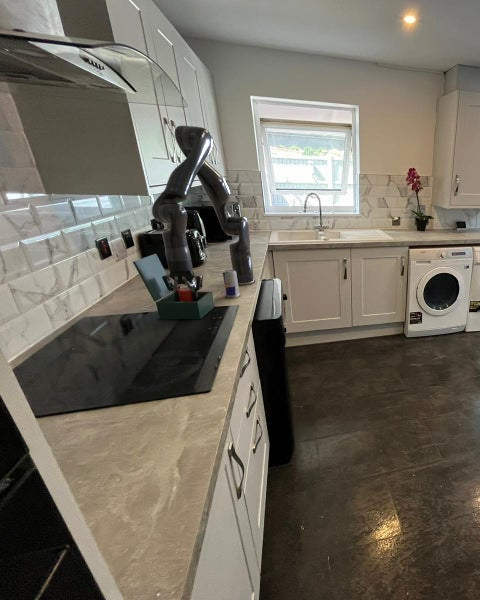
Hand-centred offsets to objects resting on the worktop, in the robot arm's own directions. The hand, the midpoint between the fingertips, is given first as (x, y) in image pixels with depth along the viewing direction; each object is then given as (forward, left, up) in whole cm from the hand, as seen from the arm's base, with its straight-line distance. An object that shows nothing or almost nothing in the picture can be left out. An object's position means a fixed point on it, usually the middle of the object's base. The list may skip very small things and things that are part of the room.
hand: (187, 300), depth 127 cm
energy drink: (-19, +9, -5) cm, 22 cm away
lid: (0, -9, +10) cm, 13 cm away
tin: (0, 0, -4) cm, 4 cm away
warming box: (0, -1, -5) cm, 5 cm away
